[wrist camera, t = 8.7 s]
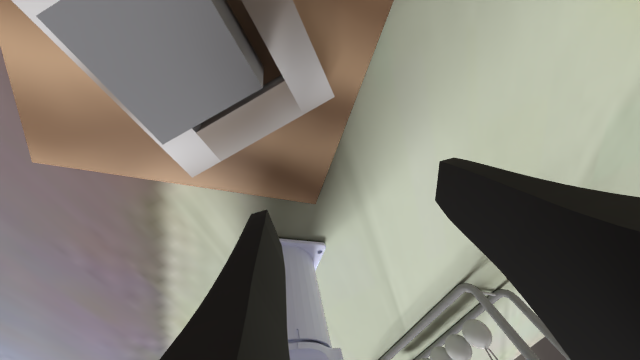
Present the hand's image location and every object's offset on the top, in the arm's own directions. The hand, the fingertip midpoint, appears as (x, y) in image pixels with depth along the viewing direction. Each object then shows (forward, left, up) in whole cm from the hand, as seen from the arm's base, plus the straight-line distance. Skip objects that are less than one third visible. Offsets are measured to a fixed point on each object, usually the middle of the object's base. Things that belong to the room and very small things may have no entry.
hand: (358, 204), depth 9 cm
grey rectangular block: (+3, +7, -8) cm, 12 cm away
